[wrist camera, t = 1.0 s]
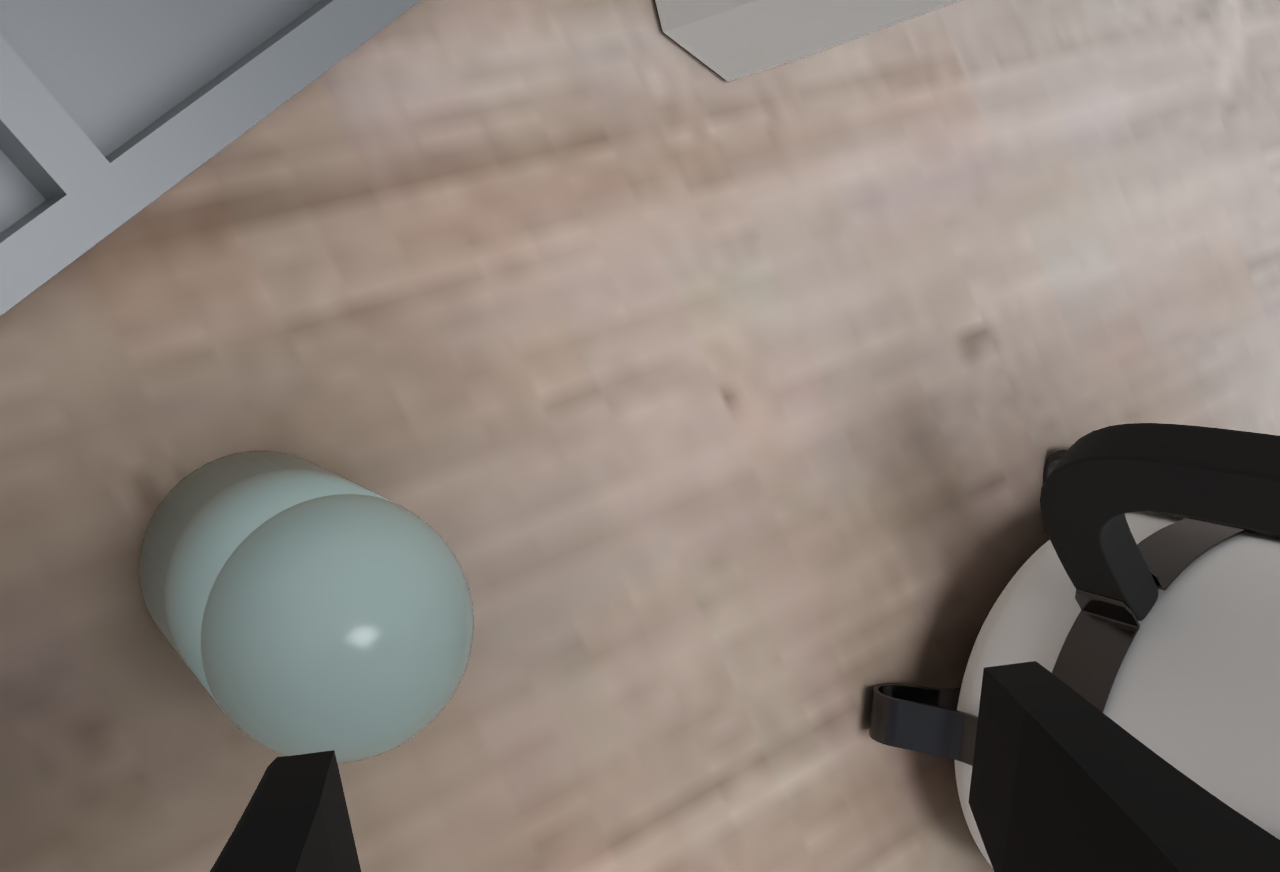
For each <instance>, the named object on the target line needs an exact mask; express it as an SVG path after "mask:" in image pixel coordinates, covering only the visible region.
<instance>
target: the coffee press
mask: <svg viewBox="0 0 1280 872" xmlns="http://www.w3.org/2000/svg"><path fill="white" fill-rule="evenodd" d="M1044 482H1045V483H1044V485H1043V487H1042V490H1041V498H1040V505H1041V512H1042V517H1043V520H1044V524H1045V527H1046V530H1047V533H1048V535H1049V538H1050V540H1048V541H1047V542H1046V543H1045V544H1044V545H1042V546H1041V547H1040V548H1039V549H1038V550H1037V551H1036V552H1035V553H1034V554H1033V555H1032V556H1031V557H1030V558H1029V559H1028V560H1027V561H1026V562H1025V563H1024V564H1023V565H1022V567H1021V568H1020V569H1019V570H1018V571H1017V573H1016V574H1015V575H1014V576H1013V578H1012V579H1011V580H1010V582H1009V583H1008V584H1007V586H1006V587H1005V589H1004V590H1003V591H1002V593H1001V594H1000V596H999V597H998V599H997V600H996V602H995V604H994V605H993V607H992V609H991V610H990V612H989V614H988V616H987V618H986V620H985V622H984V624H983V626H982V628H981V630H980V632H979V634H978V637H977V639H976V641H975V644H974V646H973V649H972V652H971V655H970V657H969V660H968V664H967V667H966V670H965V674H964V677H963V681H962V686H961V688H956V689H941V688H930V687H921V686H913V685H905V684H895V683H886V684H879V685H876V686H875V687H874V689H873V699H872V709H871V720H870V730H869V735H870V737H871V738H872V739H874V740H876V741H878V742H880V743H882V744H886V745H889V746H894V747H899V748H904V749H909V750H914V751H919V752H924V753H929V754H933V755H938V756H942V757H947V758H950V759H954V762H955V775H956V782H957V789H958V794H959V799H960V803H961V807H962V810H963V813H964V817H965V820H966V822H967V825H968V828H969V830H970V832H971V834H972V837H973V839H974V841H975V843H976V845H977V846H978V848H979V850H980V851H981V853H982V855H983V856H984V858H985V859H986V860H987V862H988V863H989V864H990V866H991V867H992V864H991V862H990V859H989V857H988V854H987V851H986V849H985V846H984V844H983V841H982V838H981V835H980V833H979V830H978V827H977V824H976V822H975V819H974V816H973V813H972V811H971V808H970V805H969V793H970V784H971V775H972V766H973V758H974V749H975V740H976V731H977V722H978V714H979V705H980V696H981V687H982V678H983V670H984V668H985V667H993V666H1001V665H1008V664H1016V663H1024V662H1032V661H1036V662H1038V663H1039V664H1040V665H1042V666H1043V667H1044V668H1046V669H1047V670H1048V671H1050V672H1051V673H1052V674H1054V675H1055V676H1056V677H1058V678H1059V679H1060V680H1062V681H1063V682H1064V683H1065V684H1067V685H1068V686H1069V687H1071V688H1072V689H1073V690H1074V691H1076V692H1077V693H1078V694H1080V695H1081V696H1082V697H1083V698H1085V699H1086V700H1087V701H1088V702H1090V703H1091V704H1092V705H1094V706H1095V707H1096V708H1097V709H1099V710H1100V711H1101V712H1102V713H1104V714H1105V715H1106V716H1108V717H1109V718H1110V719H1112V720H1113V721H1114V722H1115V723H1117V724H1118V725H1119V726H1121V727H1122V728H1123V729H1124V730H1126V731H1127V732H1128V733H1130V734H1131V735H1132V736H1133V737H1135V738H1136V739H1137V740H1139V741H1140V742H1141V743H1143V744H1144V745H1145V746H1147V747H1148V748H1149V749H1151V750H1152V751H1153V752H1155V753H1156V754H1157V755H1159V756H1160V757H1161V758H1163V759H1164V760H1165V761H1167V762H1168V763H1169V764H1171V765H1172V766H1173V767H1175V768H1176V769H1177V770H1179V771H1180V772H1182V773H1183V774H1184V775H1186V776H1187V777H1188V778H1190V779H1191V780H1193V781H1194V782H1195V783H1197V784H1198V785H1199V786H1201V787H1202V788H1204V789H1205V790H1207V791H1208V792H1209V793H1211V794H1212V795H1214V796H1215V797H1217V798H1218V799H1219V800H1221V801H1222V802H1224V803H1225V804H1227V805H1228V806H1229V807H1231V808H1232V809H1234V810H1235V811H1237V812H1238V813H1240V814H1241V815H1243V816H1244V817H1246V818H1247V819H1249V820H1250V821H1252V822H1253V823H1255V824H1256V825H1258V826H1259V827H1261V828H1262V829H1264V830H1265V831H1267V832H1269V833H1270V834H1272V835H1273V836H1275V837H1276V838H1278V839H1279V840H1280V436H1275V435H1268V434H1260V433H1252V432H1244V431H1235V430H1227V429H1218V428H1209V427H1199V426H1188V425H1176V424H1157V423H1138V424H1123V425H1115V426H1109V427H1105V428H1102V429H1099V430H1096V431H1093V432H1091V433H1089V434H1087V435H1085V436H1084V437H1082V438H1080V439H1079V440H1078V441H1077V442H1076V443H1075V444H1073V445H1072V446H1071V447H1070V448H1069V449H1068V450H1062V451H1058V452H1056V453H1054V454H1053V455H1052V456H1051V457H1050V458H1049V459H1048V461H1047V463H1046V465H1045V469H1044ZM992 868H993V867H992Z"/></svg>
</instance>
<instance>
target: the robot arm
mask: <svg viewBox="0 0 1280 872" xmlns="http://www.w3.org/2000/svg"><path fill="white" fill-rule="evenodd" d="M969 805H970V808H971V811H972V813H973V816H974V819H975V822H976V824H977V827H978V830H979V833H980V835H981V838H982V841H983V844H984V846H985V849H986V851H987V854H988V857H989V859H990V862H991V864H992V867H993V869H994V872H1280V840H1279V839H1278V838H1276V837H1275V836H1273V835H1272V834H1270V833H1269V832H1267V831H1265V830H1264V829H1262V828H1261V827H1259V826H1258V825H1256V824H1255V823H1253V822H1252V821H1250V820H1249V819H1247V818H1246V817H1244V816H1243V815H1241V814H1240V813H1238V812H1237V811H1235V810H1234V809H1232V808H1231V807H1229V806H1228V805H1227V804H1225V803H1224V802H1222V801H1221V800H1219V799H1218V798H1217V797H1215V796H1214V795H1212V794H1211V793H1209V792H1208V791H1207V790H1205V789H1204V788H1202V787H1201V786H1199V785H1198V784H1197V783H1195V782H1194V781H1193V780H1191V779H1190V778H1188V777H1187V776H1186V775H1184V774H1183V773H1182V772H1180V771H1179V770H1177V769H1176V768H1175V767H1173V766H1172V765H1171V764H1169V763H1168V762H1167V761H1165V760H1164V759H1163V758H1161V757H1160V756H1159V755H1157V754H1156V753H1155V752H1153V751H1152V750H1151V749H1149V748H1148V747H1147V746H1145V745H1144V744H1143V743H1141V742H1140V741H1139V740H1137V739H1136V738H1135V737H1133V736H1132V735H1131V734H1130V733H1128V732H1127V731H1126V730H1124V729H1123V728H1122V727H1121V726H1119V725H1118V724H1117V723H1115V722H1114V721H1113V720H1112V719H1110V718H1109V717H1108V716H1106V715H1105V714H1104V713H1102V712H1101V711H1100V710H1099V709H1097V708H1096V707H1095V706H1094V705H1092V704H1091V703H1090V702H1088V701H1087V700H1086V699H1085V698H1083V697H1082V696H1081V695H1080V694H1078V693H1077V692H1076V691H1074V690H1073V689H1072V688H1071V687H1069V686H1068V685H1067V684H1065V683H1064V682H1063V681H1062V680H1060V679H1059V678H1058V677H1056V676H1055V675H1054V674H1052V673H1051V672H1050V671H1048V670H1047V669H1046V668H1044V667H1043V666H1042V665H1040V664H1039V663H1038V662H1036V661H1032V662H1024V663H1016V664H1008V665H1001V666H993V667H985V668H984V670H983V678H982V687H981V696H980V705H979V714H978V722H977V731H976V740H975V749H974V758H973V766H972V775H971V784H970V793H969ZM210 872H361V869H360V865H359V860H358V856H357V851H356V847H355V842H354V837H353V833H352V828H351V824H350V819H349V815H348V810H347V806H346V801H345V797H344V792H343V787H342V783H341V778H340V774H339V769H338V765H337V760H336V756H335V751H334V750H332V751H324V752H317V753H309V754H301V755H293V756H285V757H277V758H276V759H275V760H274V761H273V762H272V763H271V764H270V765H269V766H268V767H267V769H266V771H265V773H264V775H263V777H262V779H261V781H260V783H259V785H258V787H257V789H256V791H255V793H254V794H253V796H252V798H251V800H250V802H249V804H248V806H247V808H246V809H245V811H244V813H243V815H242V817H241V819H240V820H239V822H238V824H237V826H236V828H235V829H234V831H233V833H232V835H231V836H230V838H229V840H228V842H227V843H226V845H225V847H224V849H223V850H222V852H221V854H220V856H219V857H218V859H217V861H216V862H215V864H214V866H213V867H212V869H211V871H210Z"/></svg>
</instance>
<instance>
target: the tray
mask: <svg viewBox="0 0 1280 872" xmlns="http://www.w3.org/2000/svg"><path fill="white" fill-rule="evenodd" d="M418 1H420V0H0V316H1V315H2V314H4V313H5V312H6V311H8V310H9V309H10V308H12V307H13V306H14V305H16V304H17V303H18V302H20V301H21V300H22V299H24V298H25V297H26V296H28V295H29V294H30V293H32V292H33V291H34V290H36V289H37V288H38V287H40V286H41V285H42V284H44V283H45V282H46V281H48V280H49V279H50V278H51V277H53V276H54V275H55V274H57V273H58V272H59V271H61V270H62V269H63V268H65V267H66V266H67V265H69V264H70V263H71V262H73V261H74V260H75V259H77V258H78V257H79V256H81V255H82V254H83V253H85V252H86V251H87V250H89V249H90V248H91V247H93V246H94V245H95V244H97V243H98V242H99V241H101V240H102V239H103V238H105V237H106V236H107V235H109V234H110V233H111V232H113V231H114V230H115V229H117V228H118V227H119V226H121V225H122V224H123V223H125V222H126V221H127V220H129V219H130V218H131V217H133V216H134V215H135V214H137V213H138V212H139V211H141V210H142V209H143V208H145V207H146V206H147V205H149V204H150V203H151V202H153V201H154V200H155V199H157V198H158V197H159V196H161V195H162V194H163V193H164V192H166V191H167V190H168V189H170V188H171V187H172V186H174V185H175V184H176V183H178V182H179V181H180V180H182V179H183V178H184V177H186V176H187V175H188V174H190V173H191V172H192V171H194V170H195V169H196V168H198V167H199V166H200V165H202V164H203V163H204V162H206V161H207V160H208V159H210V158H211V157H212V156H214V155H215V154H216V153H218V152H219V151H220V150H222V149H223V148H224V147H226V146H227V145H228V144H230V143H231V142H232V141H234V140H235V139H236V138H238V137H239V136H240V135H242V134H243V133H244V132H246V131H247V130H248V129H250V128H251V127H252V126H254V125H255V124H256V123H258V122H259V121H260V120H262V119H263V118H264V117H266V116H267V115H268V114H270V113H271V112H272V111H274V110H275V109H276V108H277V107H279V106H280V105H281V104H283V103H284V102H285V101H287V100H288V99H289V98H291V97H292V96H293V95H295V94H296V93H297V92H299V91H300V90H301V89H303V88H304V87H305V86H307V85H308V84H309V83H311V82H312V81H313V80H315V79H316V78H317V77H319V76H320V75H321V74H323V73H324V72H325V71H327V70H328V69H329V68H331V67H332V66H333V65H335V64H336V63H337V62H339V61H340V60H341V59H343V58H344V57H345V56H347V55H348V54H349V53H351V52H352V51H353V50H355V49H356V48H357V47H359V46H360V45H361V44H363V43H364V42H365V41H367V40H368V39H369V38H371V37H372V36H373V35H375V34H376V33H377V32H379V31H380V30H381V29H383V28H384V27H385V26H387V25H388V24H389V23H390V22H392V21H393V20H394V19H396V18H397V17H398V16H400V15H401V14H402V13H404V12H405V11H406V10H408V9H409V8H410V7H412V6H413V5H414V4H416V3H417V2H418Z"/></svg>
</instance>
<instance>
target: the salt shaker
mask: <svg viewBox="0 0 1280 872" xmlns="http://www.w3.org/2000/svg"><path fill="white" fill-rule="evenodd" d="M959 1H962V0H655V2H656V6H657V11H658V15H659V19H660V23H661V27H662V31H663V32H664V33H665V34H666V35H668V36H669V37H670V38H671V39H673V40H674V41H675V42H677V43H678V44H679V45H681V46H682V47H683V48H685V49H686V50H687V51H688V52H690V53H691V54H692V55H694V56H695V57H696V58H698V59H699V60H700V61H702V62H703V63H704V64H705V65H707V66H708V67H709V68H711V69H712V70H713V71H715V72H716V73H717V74H719V75H720V76H721V77H722V78H724V79H725V80H726V81H728V82H729V81H733V80H736V79H739V78H742V77H745V76H748V75H752V74H755V73H758V72H761V71H764V70H768V69H771V68H774V67H777V66H780V65H783V64H787V63H790V62H793V61H796V60H799V59H801V58H804V57H807V56H810V55H812V54H815V53H818V52H821V51H824V50H826V49H829V48H832V47H835V46H837V45H840V44H843V43H846V42H848V41H851V40H854V39H857V38H859V37H862V36H865V35H868V34H870V33H873V32H876V31H879V30H881V29H884V28H887V27H890V26H893V25H895V24H898V23H901V22H904V21H906V20H909V19H912V18H915V17H917V16H920V15H923V14H926V13H928V12H931V11H934V10H937V9H939V8H942V7H945V6H948V5H950V4H953V3H956V2H959Z"/></svg>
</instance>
